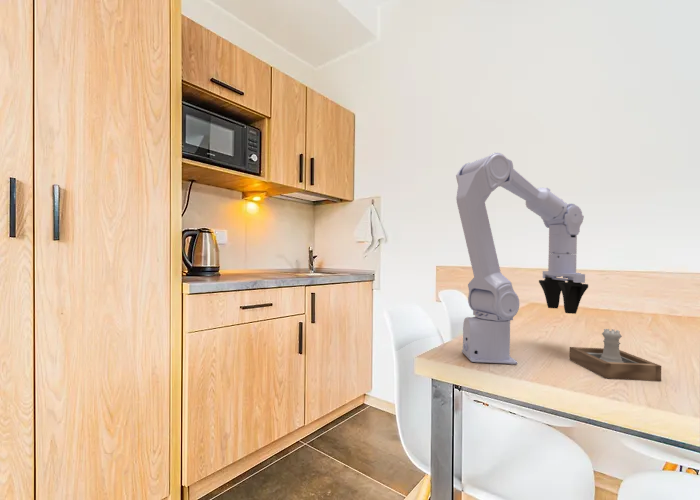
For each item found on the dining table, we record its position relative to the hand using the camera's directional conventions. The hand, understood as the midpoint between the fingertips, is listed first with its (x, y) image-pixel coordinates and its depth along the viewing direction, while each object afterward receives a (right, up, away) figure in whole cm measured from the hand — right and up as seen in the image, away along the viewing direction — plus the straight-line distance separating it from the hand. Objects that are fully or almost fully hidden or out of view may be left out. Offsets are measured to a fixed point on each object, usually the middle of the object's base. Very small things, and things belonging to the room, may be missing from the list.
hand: (561, 310), depth 81 cm
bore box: (+2, -10, -12) cm, 16 cm away
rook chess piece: (+2, -10, -12) cm, 16 cm away
